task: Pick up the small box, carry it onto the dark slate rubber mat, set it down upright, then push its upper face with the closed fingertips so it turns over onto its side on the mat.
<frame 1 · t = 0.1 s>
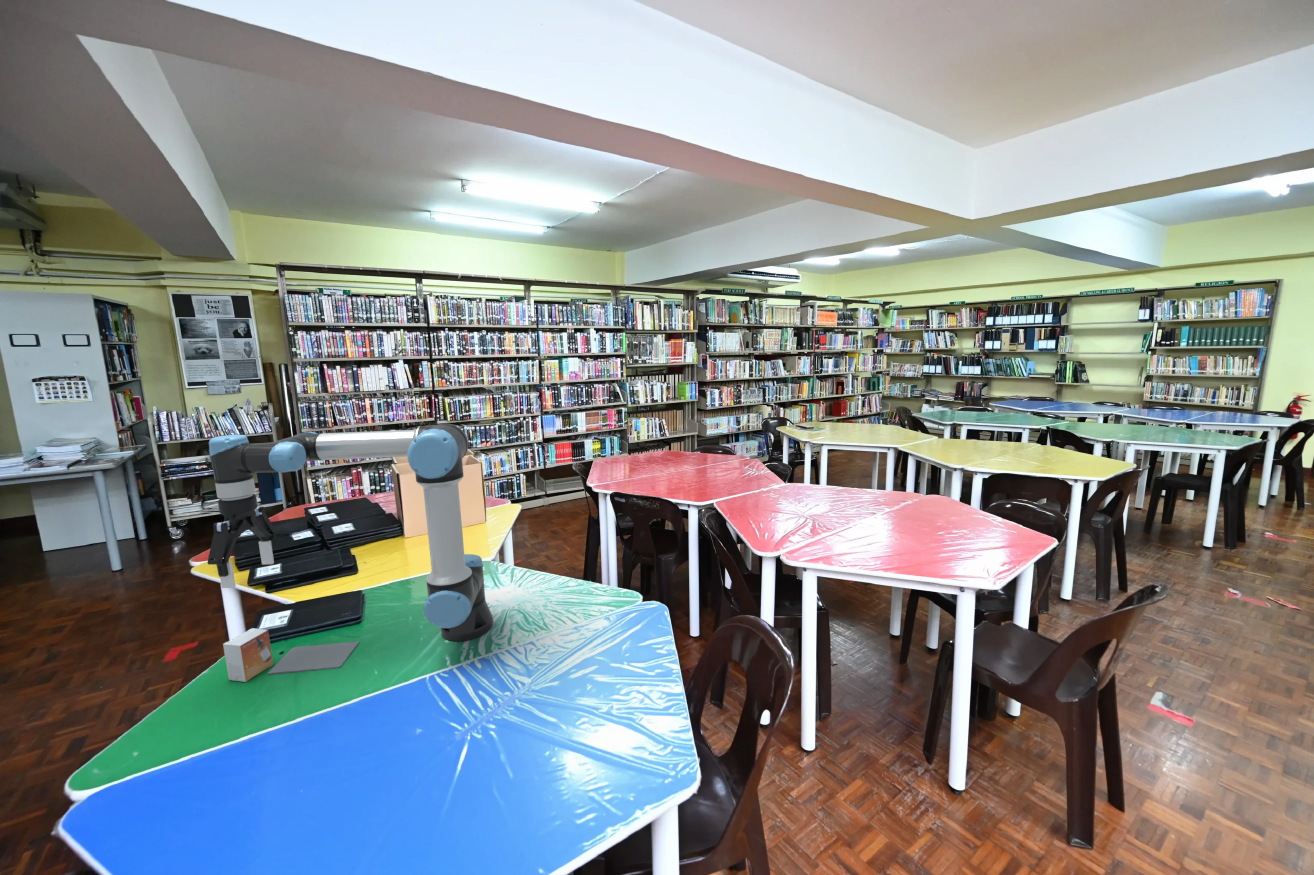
hand: (249, 574, 130), 28 cm above the table, fingers open, 13 cm apart
mat: (316, 657, 141), on the table
small box: (252, 672, 135), on the table
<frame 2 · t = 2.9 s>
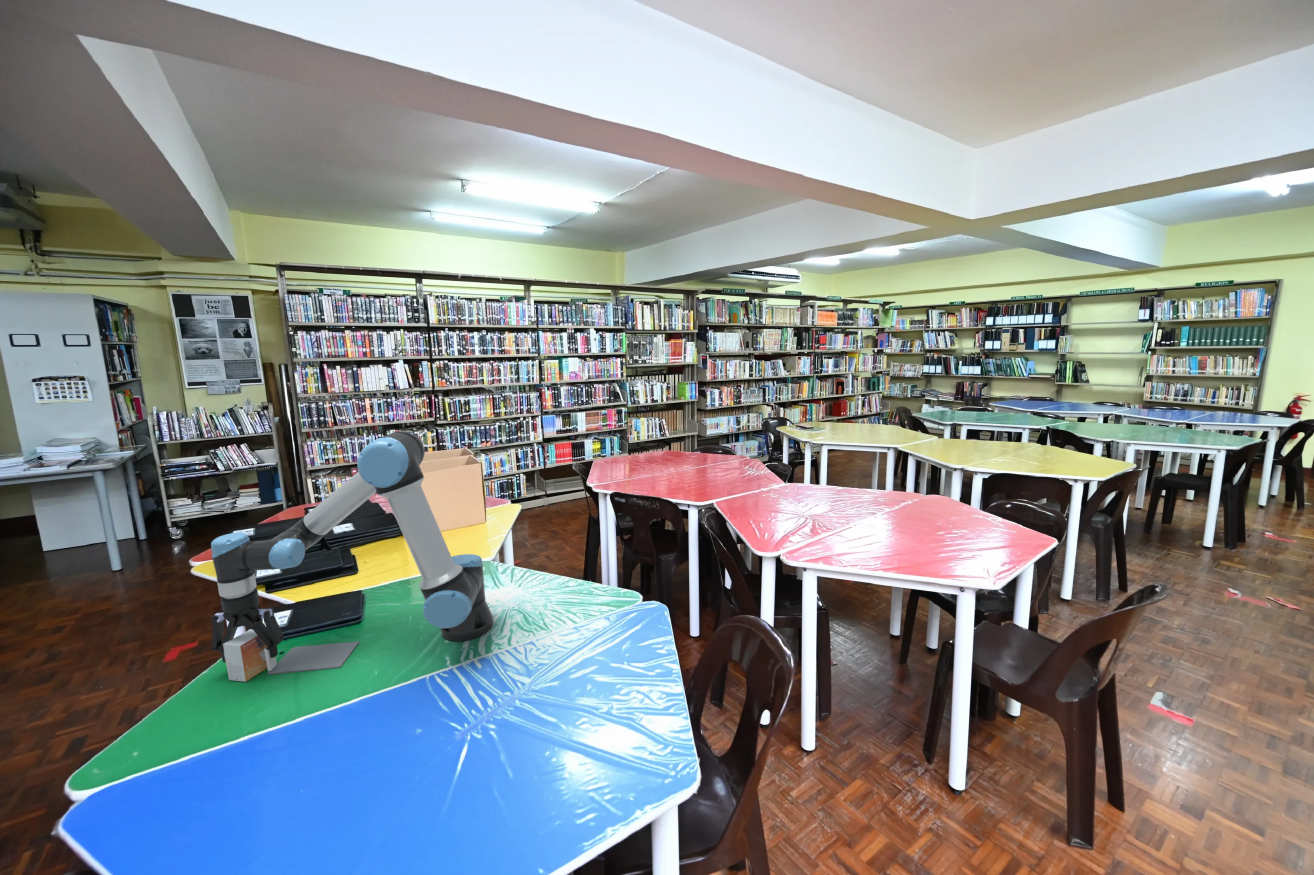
hand: (252, 669, 135), 1 cm above the table, fingers open, 9 cm apart
nothing on the table moved.
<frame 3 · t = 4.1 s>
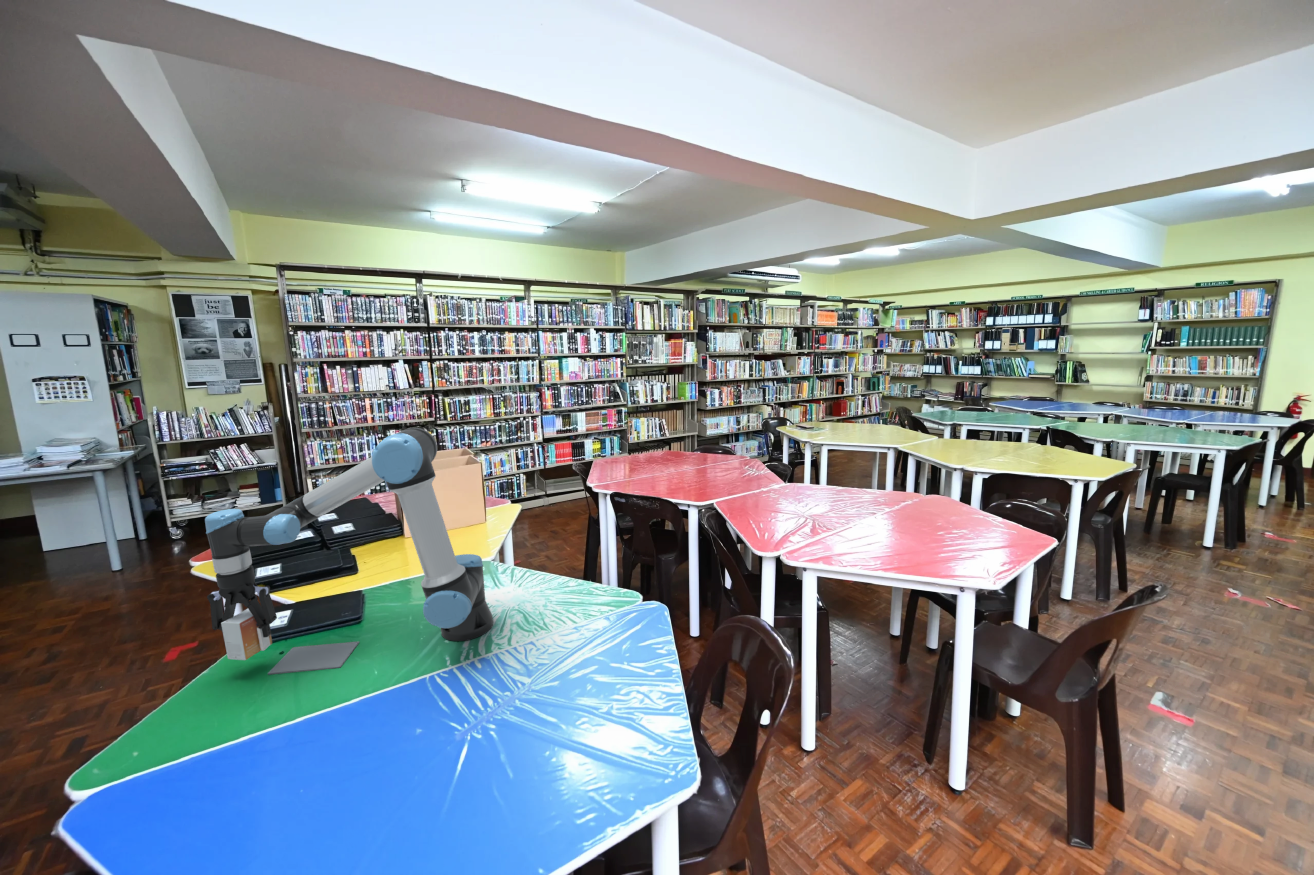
hand: (250, 649, 134), 7 cm above the table, fingers closed on small box, 7 cm apart
small box: (251, 651, 134), point 6 cm above the table, touching gripper
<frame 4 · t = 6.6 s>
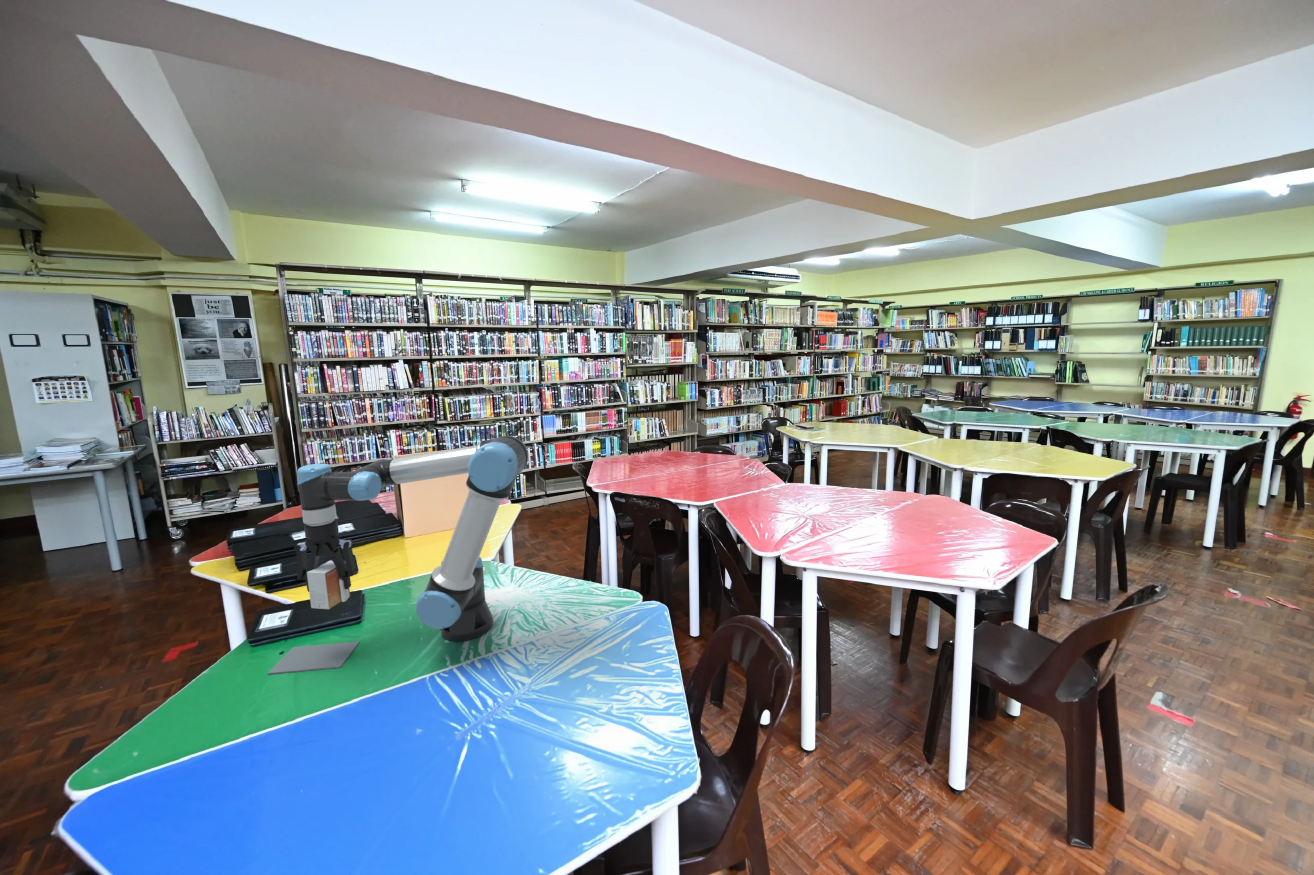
hand: (331, 600, 139), 17 cm above the table, fingers closed on small box, 7 cm apart
small box: (331, 602, 139), point 16 cm above the table, touching gripper
when the fingers open (2 cm above the table, at t = 9.2 s): small box stays where it is, resting on mat.
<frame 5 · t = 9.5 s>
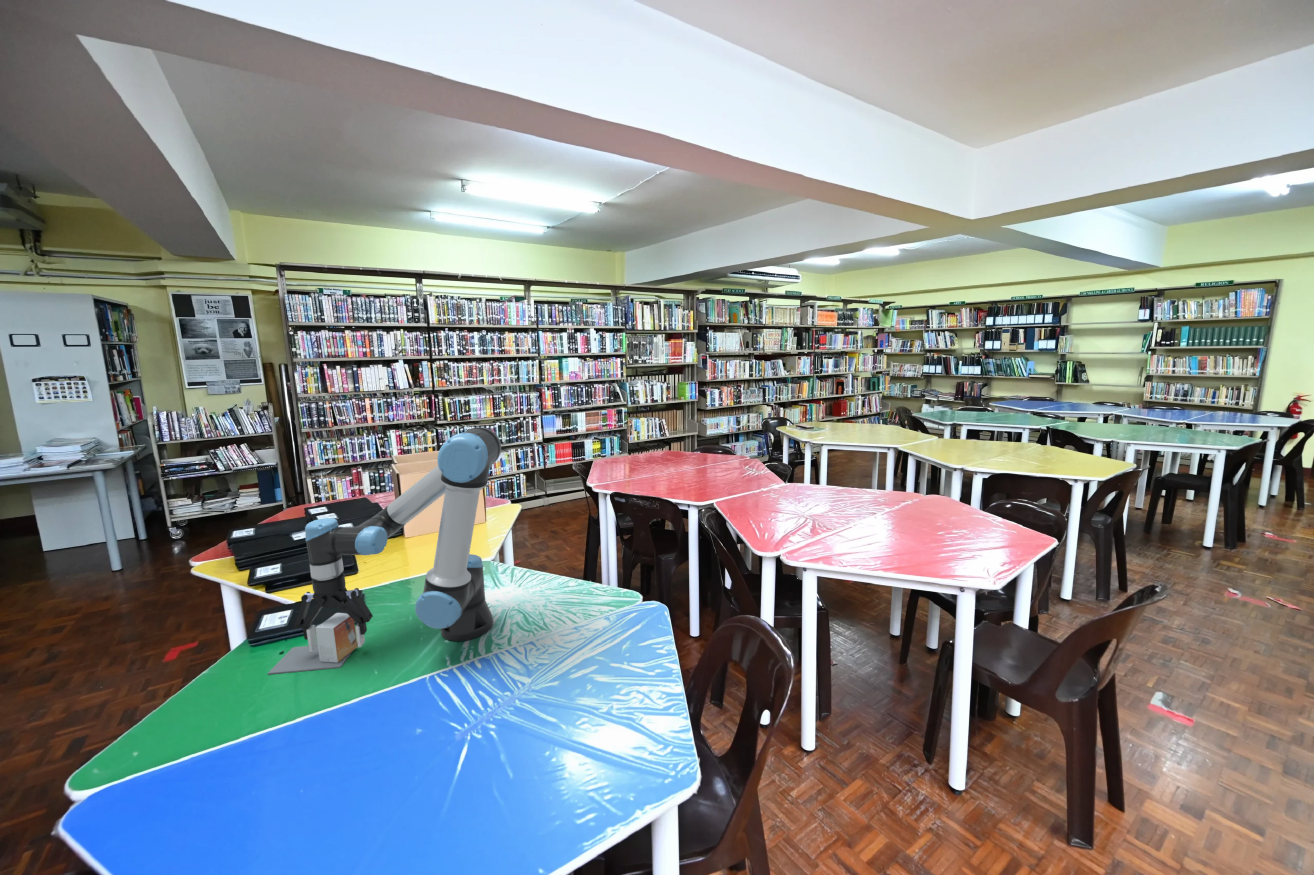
hand: (337, 646, 141), 3 cm above the table, fingers open, 12 cm apart
small box: (339, 654, 142), resting on mat
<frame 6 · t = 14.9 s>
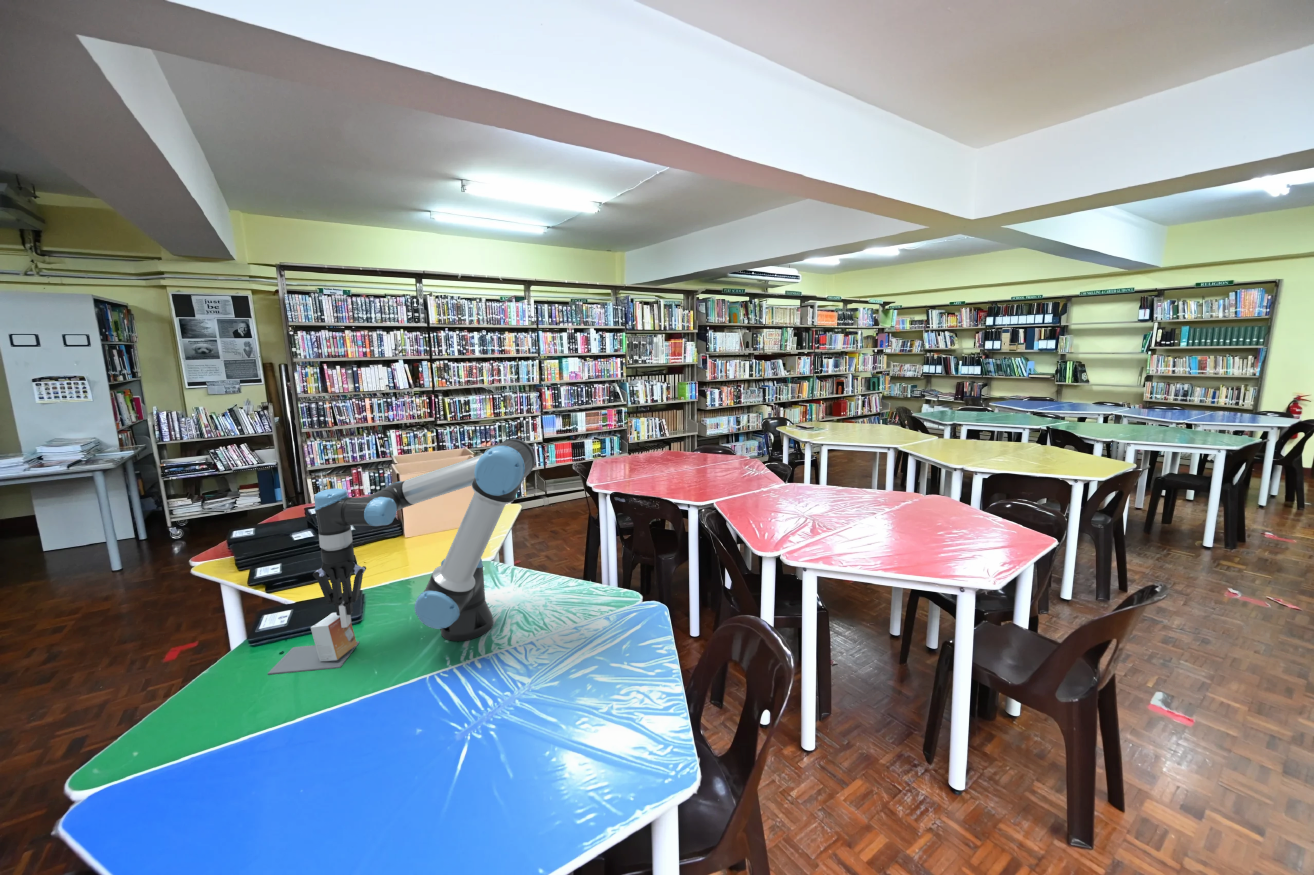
hand: (346, 624, 140), 9 cm above the table, fingers closed
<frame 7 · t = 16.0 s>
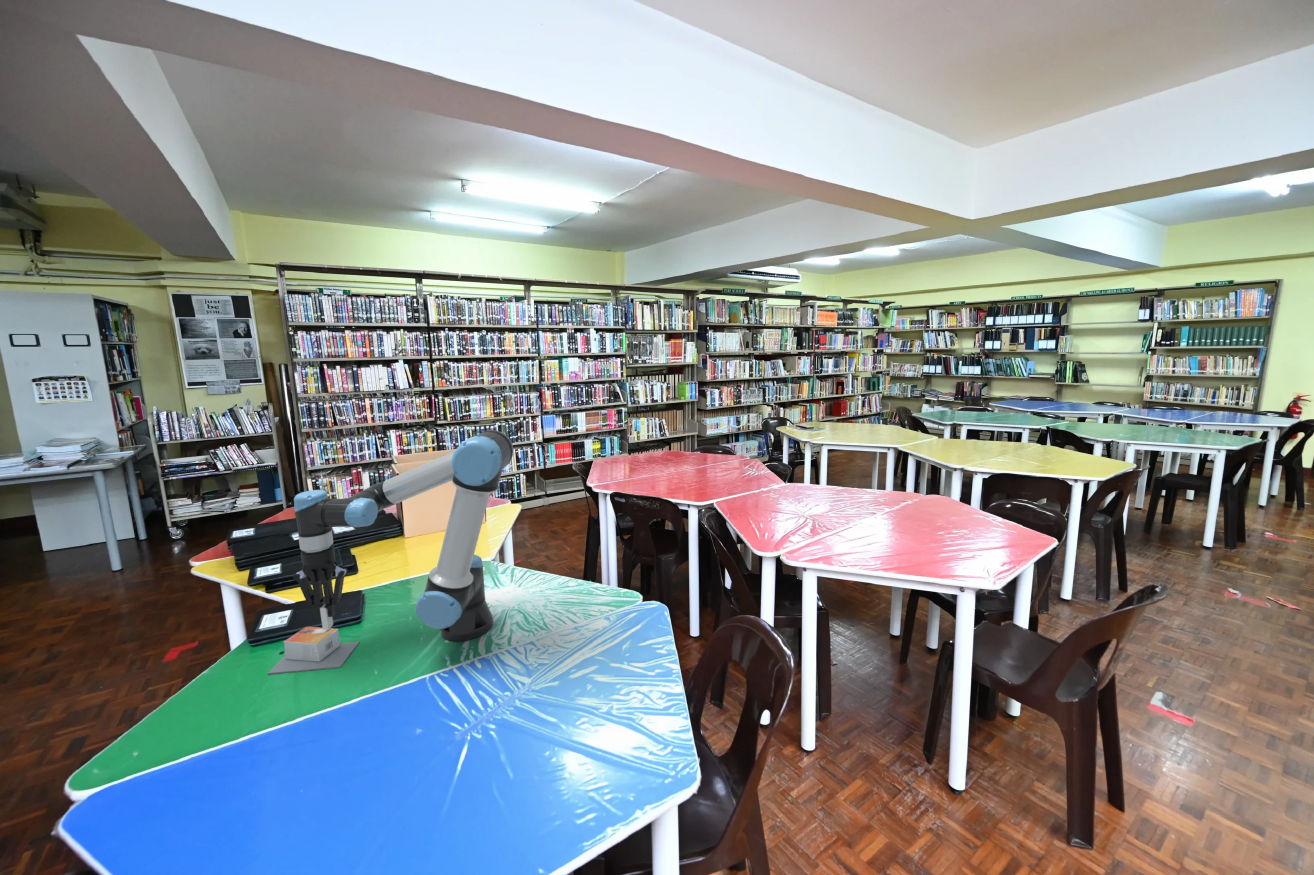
hand: (328, 627, 140), 9 cm above the table, fingers closed
small box: (330, 644, 141), point 3 cm above the table, touching mat
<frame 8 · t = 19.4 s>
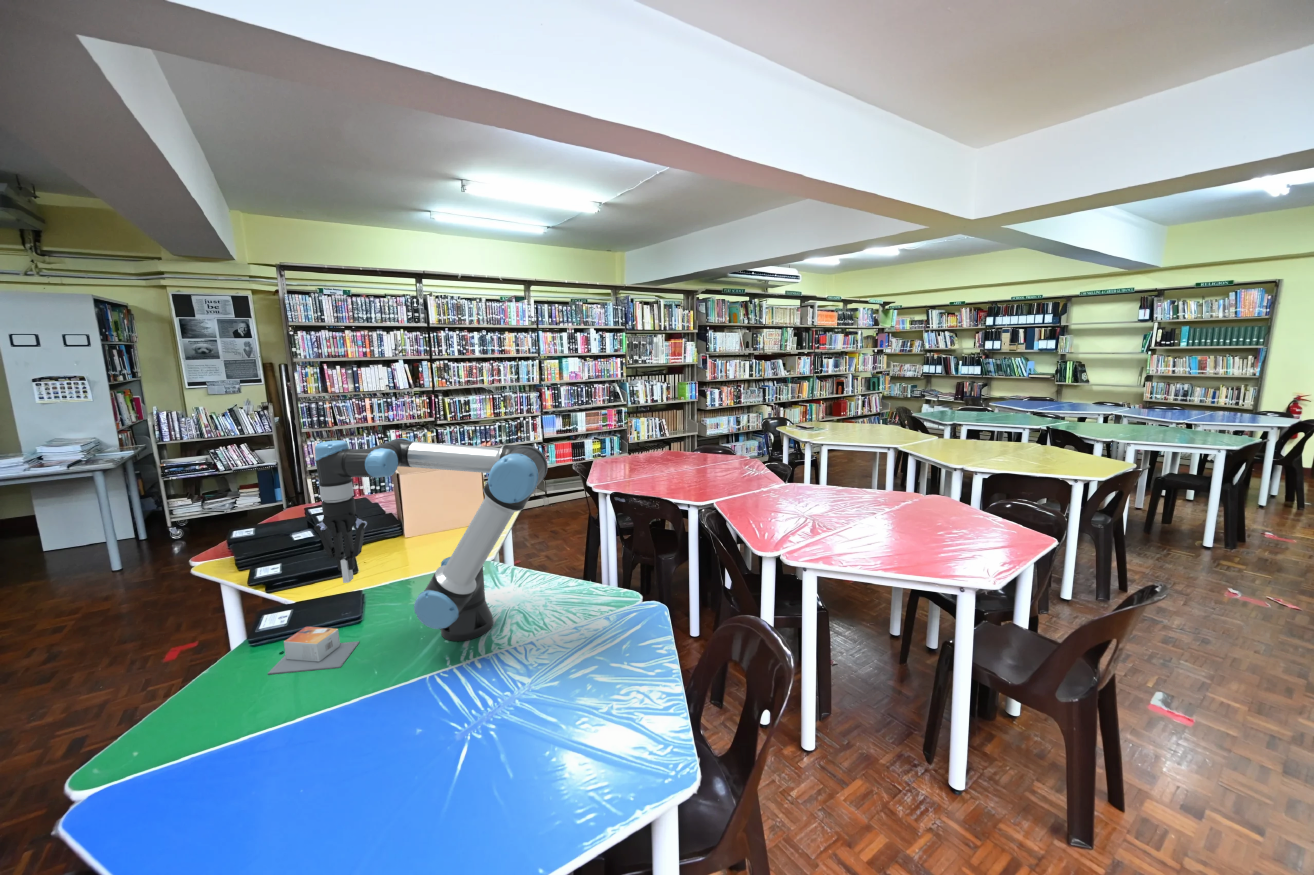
hand: (348, 580, 138), 22 cm above the table, fingers closed
nothing on the table moved.
at the end: small box tilted 90°; small box inside the target area (4.4 cm from its centre), point 3.1 cm above the table; the gripper is holding nothing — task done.
